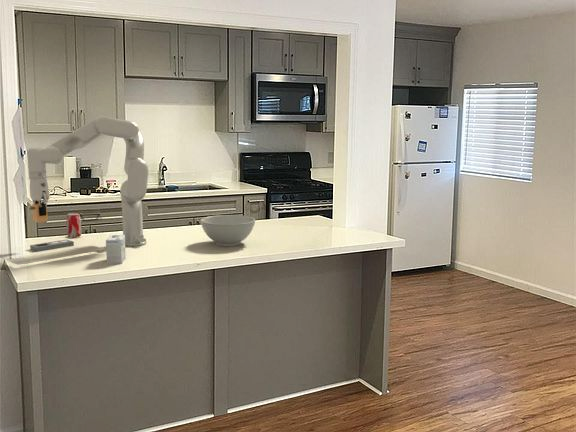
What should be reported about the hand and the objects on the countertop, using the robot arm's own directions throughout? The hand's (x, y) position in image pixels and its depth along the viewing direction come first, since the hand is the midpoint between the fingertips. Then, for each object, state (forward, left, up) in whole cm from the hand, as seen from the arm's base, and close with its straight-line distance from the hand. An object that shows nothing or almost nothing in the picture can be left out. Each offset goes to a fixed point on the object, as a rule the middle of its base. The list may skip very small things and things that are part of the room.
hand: (40, 214), depth 298 cm
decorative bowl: (-47, -73, -18) cm, 88 cm away
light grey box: (-39, -15, -18) cm, 45 cm away
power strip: (0, -5, -18) cm, 18 cm away
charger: (0, 0, -3) cm, 3 cm away
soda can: (+22, -28, -18) cm, 40 cm away
